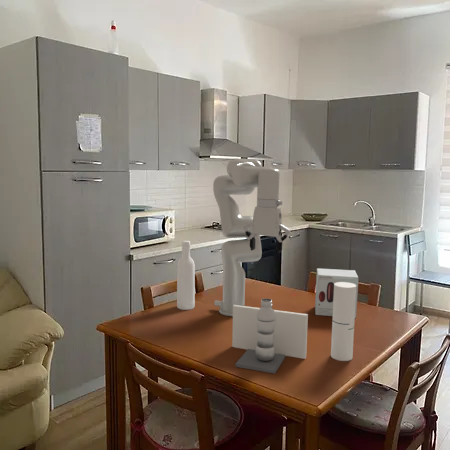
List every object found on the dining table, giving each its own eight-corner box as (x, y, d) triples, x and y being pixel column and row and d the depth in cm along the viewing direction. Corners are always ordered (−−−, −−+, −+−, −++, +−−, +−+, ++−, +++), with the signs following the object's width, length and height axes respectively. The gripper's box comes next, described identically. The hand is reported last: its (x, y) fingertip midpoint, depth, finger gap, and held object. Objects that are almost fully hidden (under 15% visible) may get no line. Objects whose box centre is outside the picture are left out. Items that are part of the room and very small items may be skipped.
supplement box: (315, 315, 203) (317, 274, 200) (314, 306, 216) (316, 267, 213) (357, 318, 200) (359, 276, 197) (353, 308, 213) (355, 269, 210)
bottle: (198, 306, 213) (198, 241, 209) (187, 311, 206) (187, 243, 202) (184, 303, 217) (184, 239, 213) (173, 307, 210) (173, 241, 206)
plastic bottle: (253, 362, 152) (255, 302, 149) (256, 354, 158) (258, 296, 156) (273, 364, 151) (275, 303, 148) (275, 356, 157) (277, 297, 154)
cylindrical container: (328, 352, 163) (331, 282, 160) (348, 352, 164) (351, 281, 161) (334, 361, 156) (338, 287, 153) (355, 360, 157) (359, 287, 154)
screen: (232, 346, 167) (233, 305, 165) (233, 345, 168) (234, 304, 166) (305, 358, 158) (306, 315, 156) (306, 357, 159) (307, 314, 157)
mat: (235, 366, 151) (235, 363, 151) (248, 351, 163) (248, 348, 163) (274, 373, 146) (274, 370, 146) (285, 357, 158) (285, 354, 158)
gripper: (294, 204, 166) (291, 251, 169) (247, 201, 173) (246, 246, 176) (288, 206, 160) (286, 256, 162) (240, 203, 166) (239, 250, 169)
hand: (265, 251), depth 169 cm, fingers open, 9 cm apart
